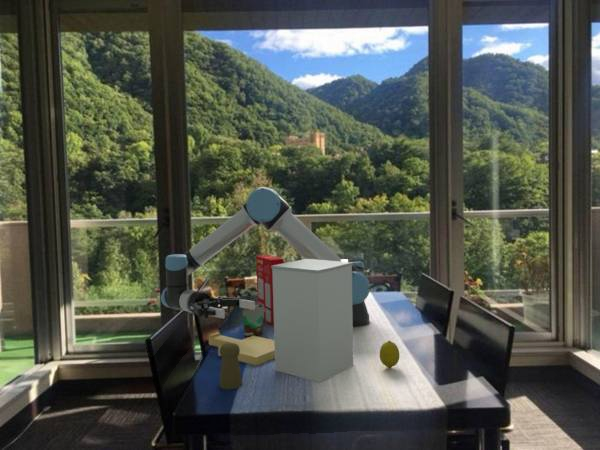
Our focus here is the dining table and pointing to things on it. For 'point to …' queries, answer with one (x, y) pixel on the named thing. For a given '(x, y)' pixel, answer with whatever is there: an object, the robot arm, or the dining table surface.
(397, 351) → the lemon
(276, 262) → the food packaging
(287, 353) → the tall white upright box
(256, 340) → the paddle
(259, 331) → the food container
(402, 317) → the dining table surface
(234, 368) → the cork
